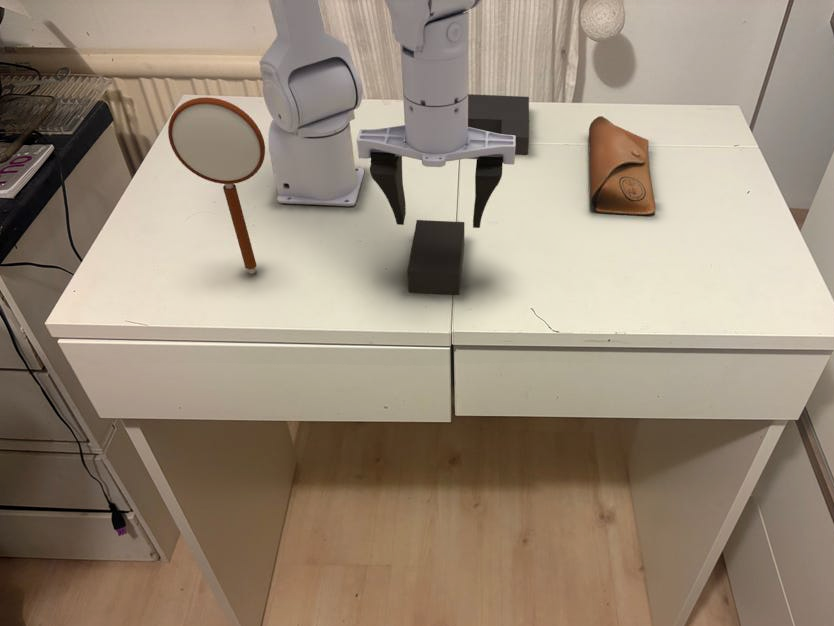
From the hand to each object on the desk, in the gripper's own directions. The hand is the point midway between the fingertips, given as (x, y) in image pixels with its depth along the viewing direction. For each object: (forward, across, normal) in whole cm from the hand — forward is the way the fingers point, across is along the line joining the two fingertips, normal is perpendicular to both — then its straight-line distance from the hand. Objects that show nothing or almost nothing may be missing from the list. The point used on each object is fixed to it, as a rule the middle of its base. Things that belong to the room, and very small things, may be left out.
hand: (439, 220), depth 72 cm
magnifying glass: (+8, -20, 0) cm, 22 cm away
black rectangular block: (+8, 0, +2) cm, 8 cm away
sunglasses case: (+8, +22, +22) cm, 32 cm away
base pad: (+8, +3, +32) cm, 33 cm away
